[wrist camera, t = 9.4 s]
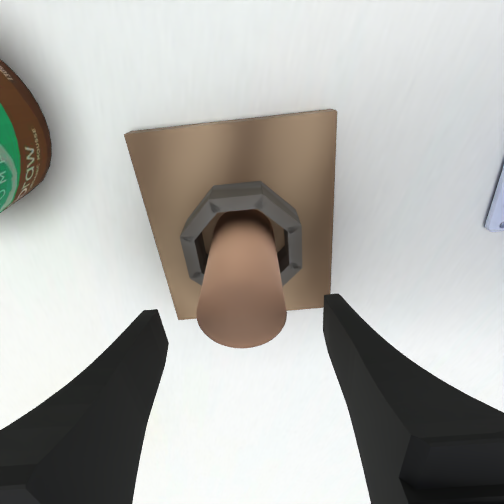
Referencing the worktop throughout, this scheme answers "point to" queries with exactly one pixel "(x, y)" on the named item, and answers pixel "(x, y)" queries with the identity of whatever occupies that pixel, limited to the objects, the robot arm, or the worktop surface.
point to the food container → (20, 139)
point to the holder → (241, 196)
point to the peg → (242, 283)
